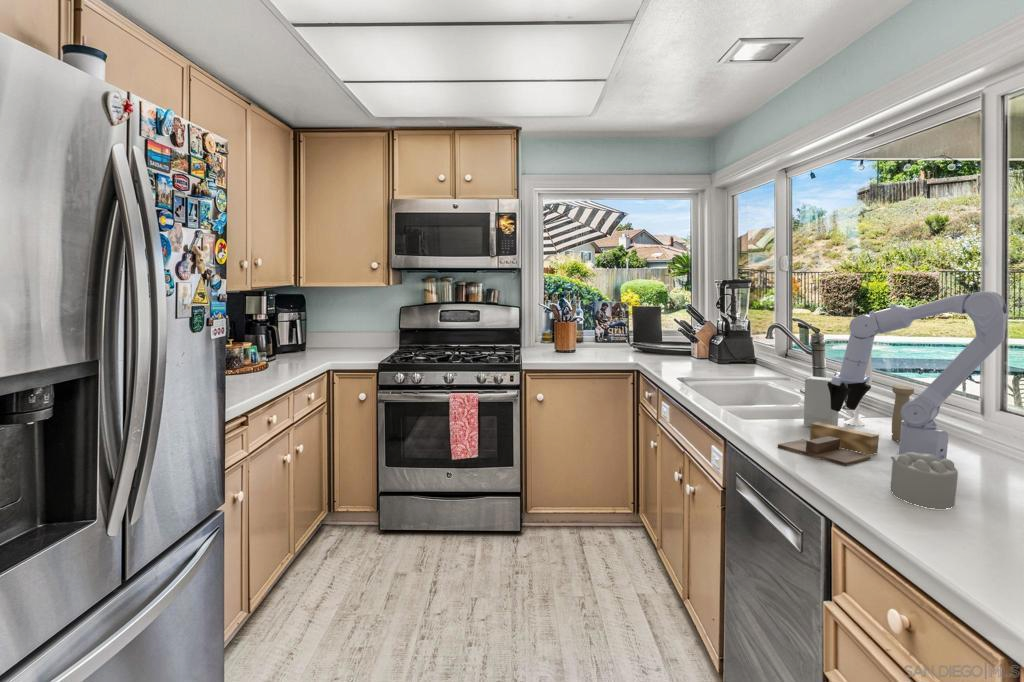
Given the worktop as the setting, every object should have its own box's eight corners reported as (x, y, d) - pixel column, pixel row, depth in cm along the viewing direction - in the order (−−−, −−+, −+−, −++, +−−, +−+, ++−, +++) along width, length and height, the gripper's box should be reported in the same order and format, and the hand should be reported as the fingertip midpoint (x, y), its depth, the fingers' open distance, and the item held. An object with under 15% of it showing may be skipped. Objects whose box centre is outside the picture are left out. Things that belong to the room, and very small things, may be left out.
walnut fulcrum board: (870, 459, 152) (871, 445, 152) (845, 466, 146) (846, 451, 146) (802, 441, 167) (803, 429, 167) (777, 447, 161) (778, 434, 161)
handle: (905, 438, 174) (910, 386, 172) (911, 444, 168) (916, 390, 166) (886, 436, 175) (890, 384, 174) (890, 442, 169) (895, 388, 168)
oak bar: (877, 454, 158) (878, 435, 157) (870, 456, 156) (872, 437, 155) (817, 439, 171) (818, 422, 170) (809, 441, 169) (811, 423, 169)
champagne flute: (863, 427, 185) (870, 348, 183) (839, 423, 190) (846, 346, 188) (871, 424, 190) (878, 347, 187) (848, 420, 195) (854, 345, 192)
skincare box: (837, 427, 185) (841, 378, 183) (830, 430, 180) (834, 380, 179) (808, 422, 191) (812, 375, 189) (801, 425, 186) (804, 377, 185)
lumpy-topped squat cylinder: (942, 492, 130) (946, 452, 129) (964, 514, 118) (968, 470, 117) (885, 485, 133) (889, 446, 132) (901, 506, 121) (905, 463, 120)
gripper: (855, 355, 167) (843, 402, 170) (825, 356, 160) (813, 406, 162) (882, 362, 162) (868, 411, 165) (852, 364, 154) (838, 415, 157)
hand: (843, 409), depth 163 cm, fingers open, 7 cm apart
